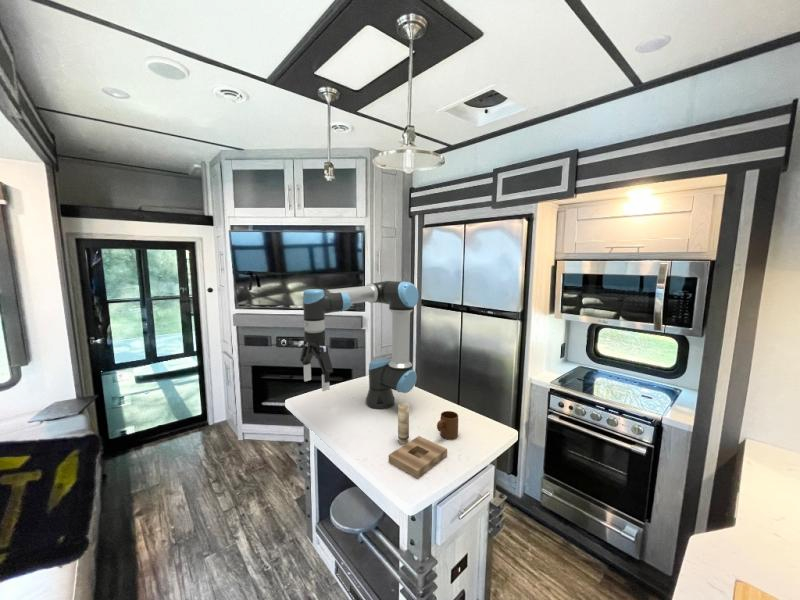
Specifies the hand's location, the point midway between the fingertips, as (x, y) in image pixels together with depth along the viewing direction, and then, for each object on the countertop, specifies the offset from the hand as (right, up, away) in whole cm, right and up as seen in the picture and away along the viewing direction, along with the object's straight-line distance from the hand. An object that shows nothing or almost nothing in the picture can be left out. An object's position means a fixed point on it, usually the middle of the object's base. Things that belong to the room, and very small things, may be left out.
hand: (316, 385), depth 125 cm
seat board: (+39, -28, -1) cm, 48 cm away
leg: (+33, -26, +11) cm, 44 cm away
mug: (+52, -26, +14) cm, 60 cm away
